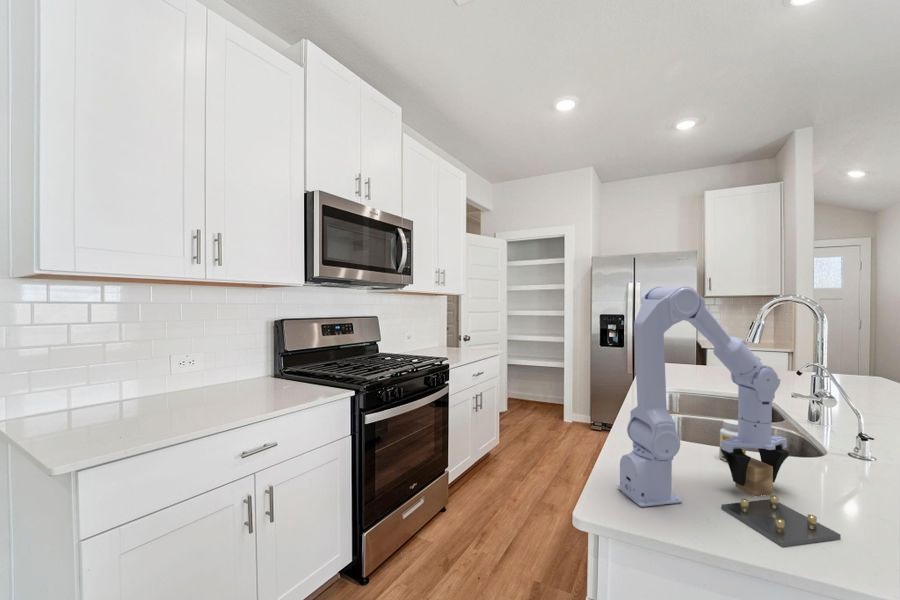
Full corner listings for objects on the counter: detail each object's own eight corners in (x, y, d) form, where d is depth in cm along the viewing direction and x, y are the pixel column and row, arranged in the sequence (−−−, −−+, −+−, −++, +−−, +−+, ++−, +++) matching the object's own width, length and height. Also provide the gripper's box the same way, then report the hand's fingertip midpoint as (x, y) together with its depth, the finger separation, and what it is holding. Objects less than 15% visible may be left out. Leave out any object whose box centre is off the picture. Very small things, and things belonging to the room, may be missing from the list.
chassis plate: (782, 547, 66) (782, 530, 66) (721, 508, 78) (721, 494, 78) (840, 539, 68) (840, 523, 68) (772, 502, 80) (772, 489, 80)
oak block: (754, 496, 82) (754, 468, 82) (735, 486, 87) (735, 459, 87) (772, 494, 83) (772, 466, 83) (752, 484, 88) (753, 457, 88)
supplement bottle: (750, 465, 97) (750, 426, 97) (725, 463, 98) (725, 424, 98) (738, 456, 103) (739, 419, 102) (715, 455, 104) (715, 417, 103)
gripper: (742, 427, 80) (741, 494, 80) (802, 423, 82) (801, 487, 82) (713, 416, 87) (712, 478, 87) (769, 412, 89) (768, 472, 89)
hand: (753, 481), depth 85 cm, fingers open, 7 cm apart
